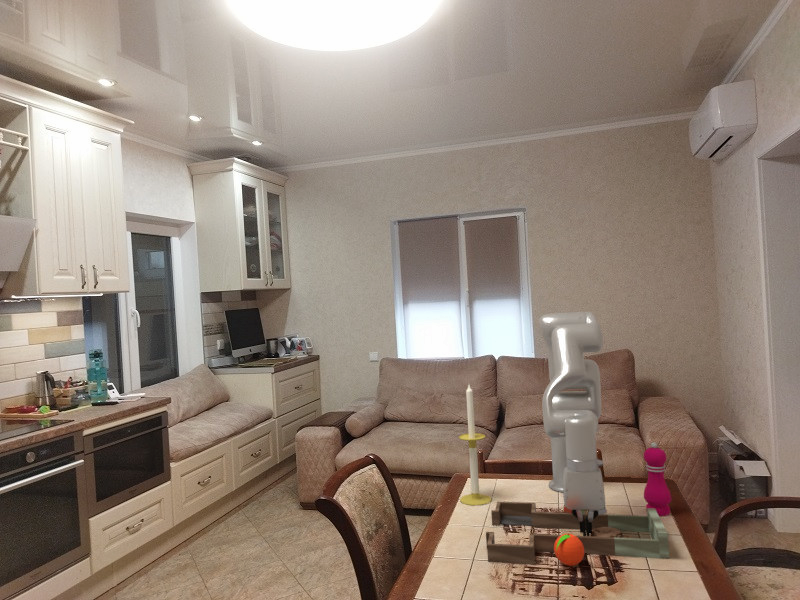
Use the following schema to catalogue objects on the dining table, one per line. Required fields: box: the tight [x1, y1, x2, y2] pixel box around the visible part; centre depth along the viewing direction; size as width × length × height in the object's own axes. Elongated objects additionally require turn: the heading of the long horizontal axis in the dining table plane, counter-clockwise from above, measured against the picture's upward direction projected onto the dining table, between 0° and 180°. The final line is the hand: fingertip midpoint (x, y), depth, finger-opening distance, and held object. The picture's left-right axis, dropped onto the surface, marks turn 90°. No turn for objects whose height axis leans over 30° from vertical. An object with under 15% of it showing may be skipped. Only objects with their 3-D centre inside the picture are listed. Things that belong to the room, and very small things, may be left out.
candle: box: [458, 384, 492, 507], centre depth 179 cm, size 10×10×38 cm
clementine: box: [553, 533, 585, 567], centre depth 133 cm, size 8×7×7 cm
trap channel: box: [485, 501, 670, 565], centre depth 146 cm, size 30×43×6 cm
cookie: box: [590, 527, 631, 538], centre depth 144 cm, size 10×11×3 cm
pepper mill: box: [643, 441, 672, 517], centre depth 161 cm, size 7×7×20 cm
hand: (586, 535), depth 145 cm, fingers closed
